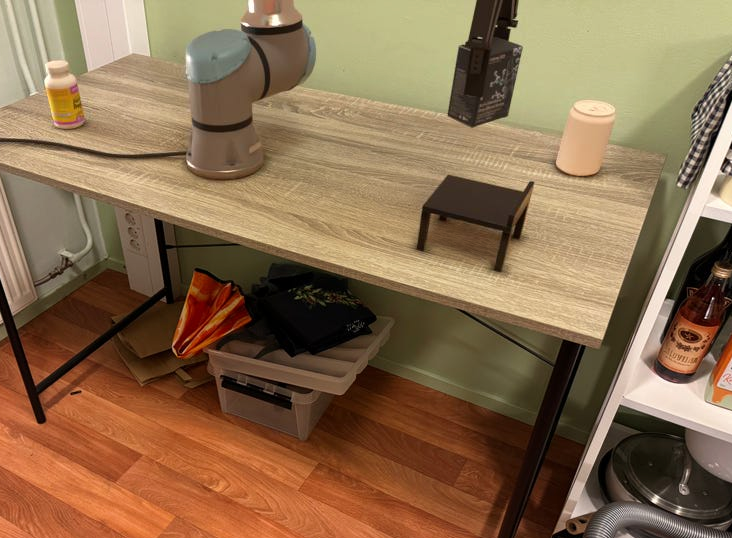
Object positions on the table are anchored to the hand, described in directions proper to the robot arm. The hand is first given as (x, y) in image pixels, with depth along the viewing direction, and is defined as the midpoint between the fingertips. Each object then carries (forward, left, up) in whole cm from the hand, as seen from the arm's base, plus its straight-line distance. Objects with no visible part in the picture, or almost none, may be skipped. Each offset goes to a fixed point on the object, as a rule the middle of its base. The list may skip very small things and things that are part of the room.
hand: (483, 83), depth 101 cm
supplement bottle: (-89, +1, -24) cm, 93 cm away
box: (0, 0, -5) cm, 5 cm away
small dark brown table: (+4, -5, -24) cm, 25 cm away
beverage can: (+14, +31, -24) cm, 41 cm away
